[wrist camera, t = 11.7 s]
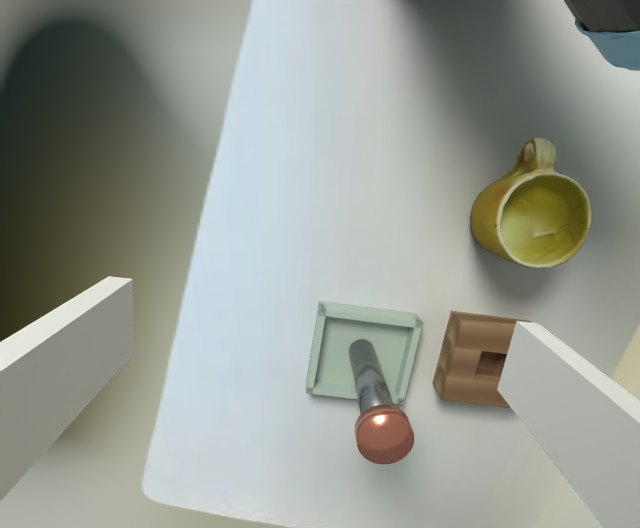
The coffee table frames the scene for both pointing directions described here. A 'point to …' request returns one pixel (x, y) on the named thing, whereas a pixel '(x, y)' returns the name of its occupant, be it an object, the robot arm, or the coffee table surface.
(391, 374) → the tray
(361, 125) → the coffee table surface
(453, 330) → the socket block
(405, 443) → the pin
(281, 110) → the coffee table surface
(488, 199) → the mug
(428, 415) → the coffee table surface
